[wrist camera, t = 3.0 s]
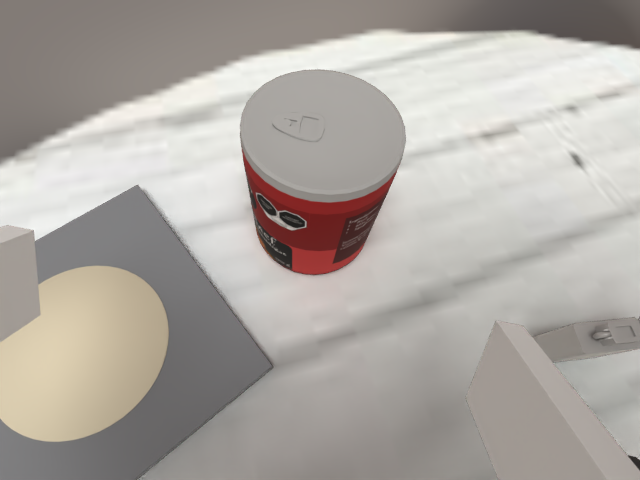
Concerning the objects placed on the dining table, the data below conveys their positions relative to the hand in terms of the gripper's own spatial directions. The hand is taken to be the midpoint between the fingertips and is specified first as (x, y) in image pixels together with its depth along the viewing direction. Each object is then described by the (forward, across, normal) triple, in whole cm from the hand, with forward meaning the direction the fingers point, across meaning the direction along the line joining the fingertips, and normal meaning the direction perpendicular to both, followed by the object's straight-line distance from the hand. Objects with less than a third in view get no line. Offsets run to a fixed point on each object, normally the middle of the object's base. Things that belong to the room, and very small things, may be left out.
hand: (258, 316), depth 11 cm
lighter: (+14, +20, -6) cm, 25 cm away
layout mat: (+9, -11, -10) cm, 18 cm away
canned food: (+17, 0, -3) cm, 17 cm away
